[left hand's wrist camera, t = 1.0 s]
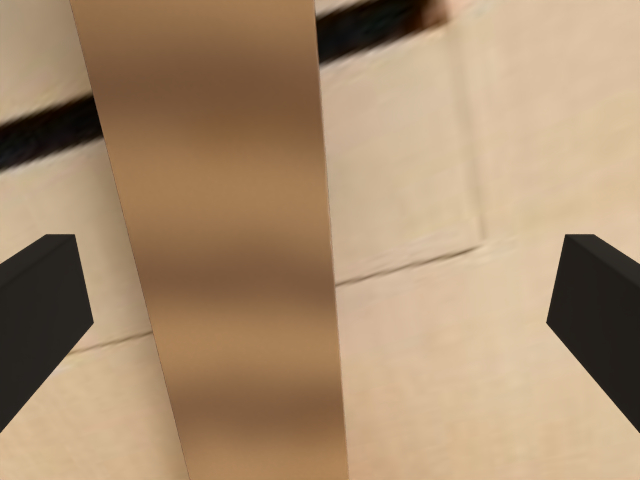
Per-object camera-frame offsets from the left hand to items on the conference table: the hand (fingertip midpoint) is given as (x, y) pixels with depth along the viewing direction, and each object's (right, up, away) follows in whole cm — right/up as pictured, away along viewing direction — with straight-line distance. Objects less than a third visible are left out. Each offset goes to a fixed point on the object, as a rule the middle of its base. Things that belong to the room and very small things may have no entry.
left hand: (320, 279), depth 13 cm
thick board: (-3, -15, +23) cm, 27 cm away
